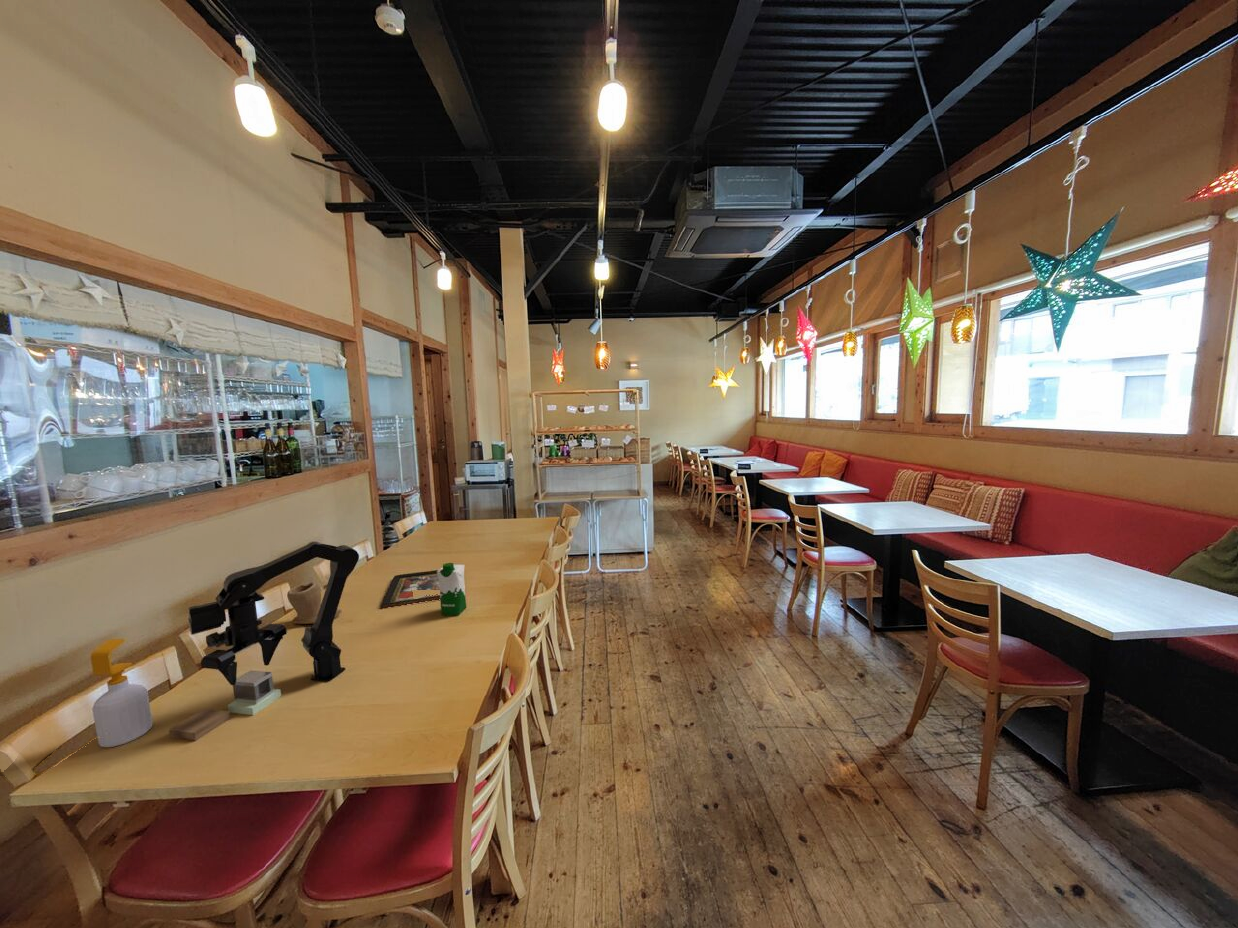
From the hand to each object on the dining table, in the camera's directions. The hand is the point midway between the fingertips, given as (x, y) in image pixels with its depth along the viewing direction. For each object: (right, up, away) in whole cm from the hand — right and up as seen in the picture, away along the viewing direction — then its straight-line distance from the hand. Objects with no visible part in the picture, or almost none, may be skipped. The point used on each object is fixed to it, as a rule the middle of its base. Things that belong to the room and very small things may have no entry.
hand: (250, 674), depth 121 cm
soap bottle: (-23, -11, -10) cm, 27 cm away
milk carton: (+35, -1, +55) cm, 66 cm away
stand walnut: (-6, -10, -8) cm, 14 cm away
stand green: (0, -9, +1) cm, 9 cm away
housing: (0, -7, +1) cm, 7 cm away
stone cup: (-17, -4, +50) cm, 53 cm away
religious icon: (+13, 0, +81) cm, 82 cm away
